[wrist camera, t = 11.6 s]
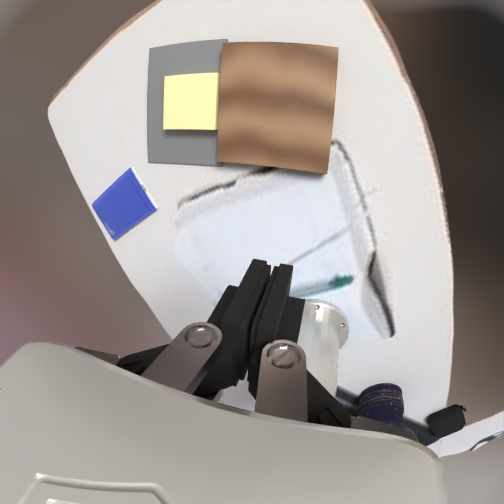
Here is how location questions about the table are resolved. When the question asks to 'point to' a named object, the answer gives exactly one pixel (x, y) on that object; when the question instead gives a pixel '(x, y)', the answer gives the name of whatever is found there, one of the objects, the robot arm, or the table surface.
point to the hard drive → (124, 204)
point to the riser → (277, 104)
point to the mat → (158, 139)
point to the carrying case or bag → (447, 421)
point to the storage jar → (382, 404)
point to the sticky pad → (191, 101)
